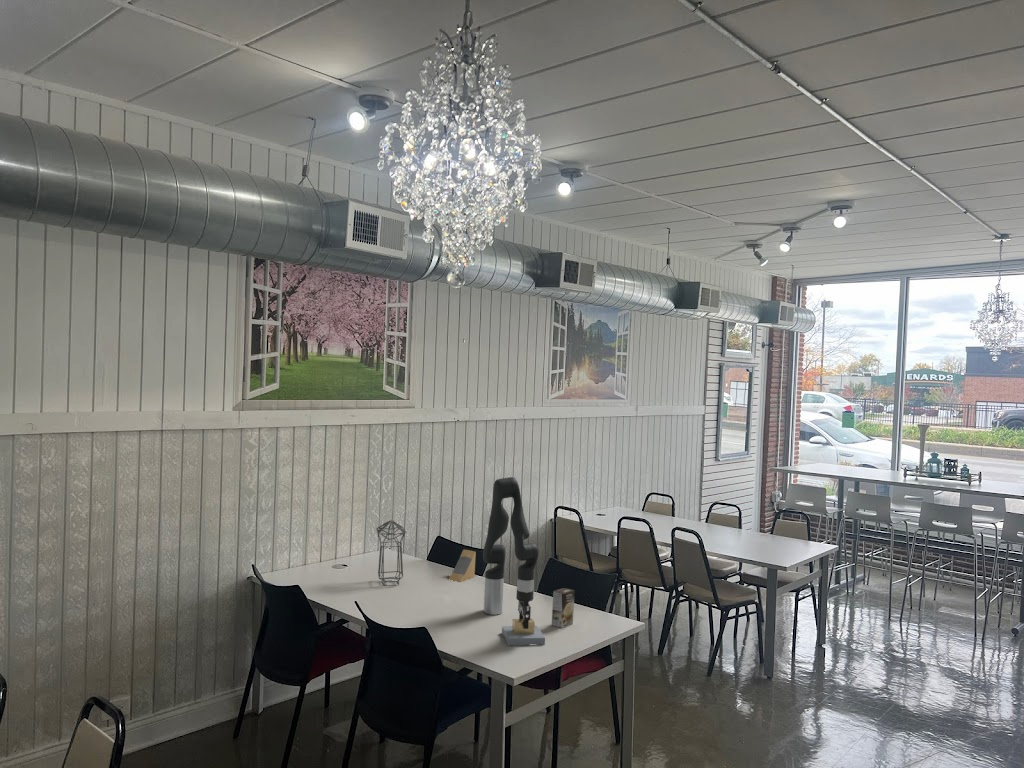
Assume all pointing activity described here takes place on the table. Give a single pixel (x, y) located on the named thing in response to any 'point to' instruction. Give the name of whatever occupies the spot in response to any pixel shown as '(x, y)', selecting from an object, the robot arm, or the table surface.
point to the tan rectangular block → (518, 627)
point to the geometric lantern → (390, 546)
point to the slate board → (523, 637)
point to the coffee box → (563, 607)
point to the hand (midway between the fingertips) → (523, 625)
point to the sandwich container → (464, 567)
